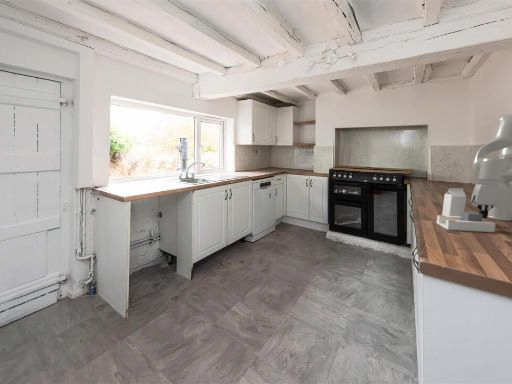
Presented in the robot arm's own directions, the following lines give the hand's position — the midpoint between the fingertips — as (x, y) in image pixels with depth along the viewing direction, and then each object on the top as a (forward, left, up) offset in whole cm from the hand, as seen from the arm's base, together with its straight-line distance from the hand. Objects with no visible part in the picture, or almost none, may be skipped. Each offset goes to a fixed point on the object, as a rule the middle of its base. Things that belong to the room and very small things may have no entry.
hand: (482, 217), depth 123 cm
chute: (+8, 0, -6) cm, 10 cm away
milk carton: (+7, -13, -6) cm, 16 cm away
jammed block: (+5, 0, -4) cm, 7 cm away
